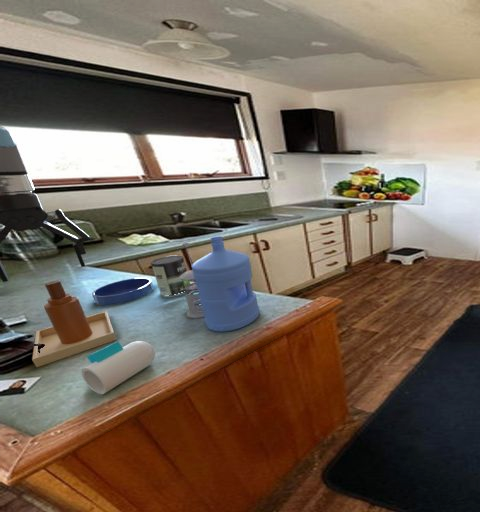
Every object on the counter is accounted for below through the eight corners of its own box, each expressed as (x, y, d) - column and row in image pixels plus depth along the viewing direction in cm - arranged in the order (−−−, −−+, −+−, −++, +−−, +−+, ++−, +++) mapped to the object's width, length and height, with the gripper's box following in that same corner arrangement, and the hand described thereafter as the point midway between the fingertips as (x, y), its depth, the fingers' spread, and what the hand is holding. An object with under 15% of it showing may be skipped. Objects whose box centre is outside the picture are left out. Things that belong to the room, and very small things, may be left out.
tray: (36, 367, 70) (32, 359, 69) (39, 338, 82) (36, 331, 81) (116, 339, 80) (113, 332, 79) (109, 317, 92) (106, 310, 92)
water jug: (197, 335, 82) (172, 246, 72) (219, 309, 96) (200, 233, 87) (252, 330, 84) (234, 243, 75) (265, 305, 98) (251, 230, 89)
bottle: (61, 347, 76) (33, 289, 71) (61, 338, 80) (34, 283, 75) (93, 336, 81) (69, 281, 75) (91, 328, 85) (69, 276, 79)
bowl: (97, 311, 96) (93, 301, 95) (94, 296, 107) (90, 287, 106) (158, 294, 108) (155, 285, 107) (149, 282, 119) (146, 274, 118)
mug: (146, 327, 68) (85, 358, 58) (166, 356, 70) (110, 392, 59) (123, 335, 73) (62, 366, 62) (142, 363, 75) (86, 398, 64)
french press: (179, 314, 93) (159, 245, 85) (211, 299, 103) (195, 236, 95) (199, 320, 90) (179, 248, 82) (229, 304, 100) (215, 238, 92)
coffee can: (195, 285, 116) (187, 254, 112) (186, 295, 107) (177, 262, 102) (167, 288, 113) (157, 256, 109) (155, 299, 104) (144, 265, 100)
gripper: (-89, 199, 56) (-37, 292, 63) (85, 190, 74) (111, 263, 81) (-78, 196, 61) (-30, 283, 67) (83, 188, 78) (108, 257, 85)
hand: (47, 272), depth 74 cm, fingers open, 13 cm apart
